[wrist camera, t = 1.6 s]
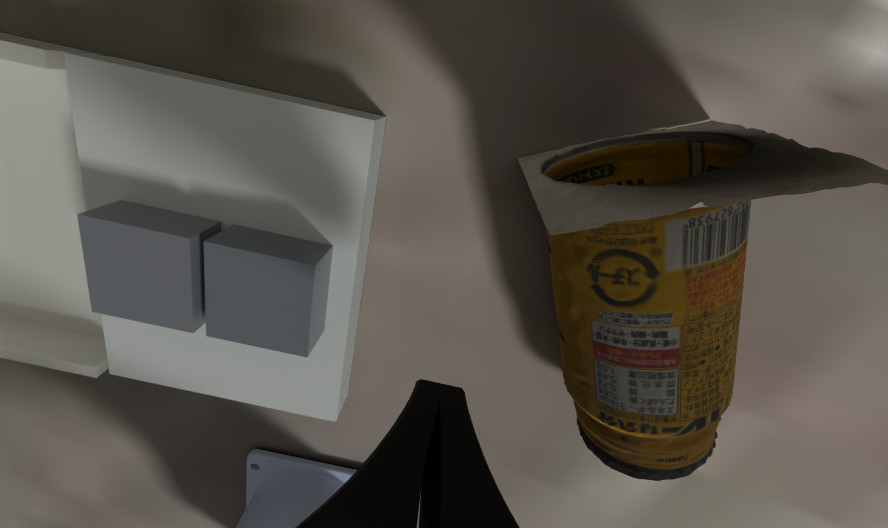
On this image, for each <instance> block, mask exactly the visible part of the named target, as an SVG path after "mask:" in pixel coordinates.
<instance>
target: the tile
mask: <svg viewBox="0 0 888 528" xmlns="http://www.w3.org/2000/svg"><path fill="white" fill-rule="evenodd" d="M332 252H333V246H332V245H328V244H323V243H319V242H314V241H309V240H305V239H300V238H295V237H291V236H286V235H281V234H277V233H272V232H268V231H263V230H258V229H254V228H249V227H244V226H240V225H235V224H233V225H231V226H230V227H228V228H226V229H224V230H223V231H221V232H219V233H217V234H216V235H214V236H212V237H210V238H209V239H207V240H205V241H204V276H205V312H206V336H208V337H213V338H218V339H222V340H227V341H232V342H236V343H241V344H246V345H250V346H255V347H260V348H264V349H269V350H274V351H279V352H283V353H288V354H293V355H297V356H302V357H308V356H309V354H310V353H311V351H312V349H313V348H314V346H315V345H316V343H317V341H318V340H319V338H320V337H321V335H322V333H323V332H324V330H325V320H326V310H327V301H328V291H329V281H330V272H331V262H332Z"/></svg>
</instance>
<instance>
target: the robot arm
mask: <svg viewBox="0 0 888 528" xmlns="http://www.w3.org/2000/svg"><path fill="white" fill-rule="evenodd" d="M421 485H422V486H421ZM420 494H421V501H420ZM419 502H420V516H419V528H519V526H518V524H517V522H516V521H515V519H514V517H513V515H512V514H511V512H510V510H509V508H508V506H507V504H506V503H505V501H504V499H503V497H502V495H501V493H500V491H499V489H498V487H497V485H496V483H495V481H494V478H493V476H492V474H491V472H490V469H489V467H488V465H487V462H486V460H485V457H484V455H483V452H482V450H481V447H480V444H479V442H478V439H477V436H476V433H475V430H474V427H473V424H472V421H471V418H470V414H469V410H468V407H467V402H466V398H465V392H464V391H463V389H462V388H459V387H455V386H450V385H445V384H441V383H436V382H431V381H427V380H422V379H420V380H418V381H416V384H415V387H414V390H413V392H412V395H411V397H410V399H409V400H408V402H407V404H406V406H405V408H404V409H403V411H402V413H401V414H400V416H399V417H398V419H397V420H396V422H395V423H394V425H393V426H392V428H391V429H390V431H389V432H388V433H387V435H386V436H385V437H384V438H383V440H382V441H381V442H380V444H379V445H378V446H377V448H376V449H375V450H374V451H373V453H372V454H371V455H370V456H369V457H368V459H367V460H366V461H365V462H364V463H363V464H362V465H361V467H360V468H359V469H358V470H355V469H350V468H345V467H340V466H336V465H331V464H326V463H321V462H317V461H312V460H307V459H302V458H298V457H293V456H288V455H283V454H279V453H274V452H269V451H264V450H260V449H254V450H252V451H250V453H249V454H248V456H247V477H246V509H245V511H244V513H243V515H242V517H241V518H240V520H239V522H238V524H237V526H236V528H417V520H418V511H419Z"/></svg>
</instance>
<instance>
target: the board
mask: <svg viewBox="0 0 888 528" xmlns="http://www.w3.org/2000/svg"><path fill="white" fill-rule="evenodd" d="M64 58H65V65H66V72H67V79H68V86H69V93H70V100H71V107H72V114H73V121H74V128H75V135H76V142H77V149H78V156H79V163H80V170H81V177H82V184H83V191H84V198H85V205H86V211H88V210H92V209H95V208H98V207H101V206H104V205H107V204H110V203H113V202H116V201H119V200H124V201H128V202H133V203H138V204H142V205H147V206H152V207H156V208H161V209H166V210H170V211H175V212H179V213H184V214H189V215H193V216H198V217H203V218H207V219H212V220H217V221H221V231H223V230H224V229H226V228H228V227H230V226H231V225H233V224H235V225H240V226H244V227H249V228H254V229H258V230H263V231H268V232H272V233H277V234H281V235H286V236H291V237H295V238H300V239H305V240H309V241H314V242H319V243H323V244H328V245H332V246H333V252H332V262H331V272H330V281H329V291H328V301H327V310H326V320H325V330H324V332H323V333H322V335H321V337H320V338H319V340H318V341H317V343H316V345H315V346H314V348H313V349H312V351H311V353H310V354H309V356H308V357H302V356H297V355H293V354H288V353H283V352H279V351H274V350H269V349H264V348H260V347H255V346H250V345H246V344H241V343H236V342H232V341H227V340H222V339H218V338H213V337H208V336H206V323H205V324H204V325H203V326H201V327H200V328H199V329H198V330H197V331H196V332H195V333H189V332H185V331H180V330H175V329H171V328H166V327H161V326H156V325H152V324H147V323H142V322H138V321H133V320H128V319H124V318H119V317H114V316H109V315H105V314H101V317H102V325H103V332H104V339H105V346H106V353H107V360H108V367H109V374H112V375H116V376H121V377H126V378H131V379H135V380H140V381H145V382H150V383H154V384H159V385H164V386H168V387H173V388H178V389H183V390H187V391H192V392H197V393H202V394H206V395H211V396H216V397H220V398H225V399H230V400H235V401H239V402H244V403H249V404H254V405H258V406H263V407H268V408H272V409H277V410H282V411H287V412H291V413H296V414H301V415H306V416H310V417H315V418H320V419H324V420H329V421H334V422H336V420H337V418H338V416H339V413H340V411H341V409H342V406H343V404H344V402H345V399H346V397H347V394H348V388H349V381H350V374H351V367H352V360H353V352H354V345H355V338H356V331H357V324H358V316H359V309H360V302H361V295H362V288H363V280H364V273H365V266H366V259H367V252H368V245H369V237H370V230H371V223H372V216H373V209H374V201H375V194H376V187H377V180H378V173H379V165H380V158H381V151H382V144H383V137H384V130H385V122H386V116H381V115H377V114H372V113H367V112H363V111H358V110H354V109H349V108H345V107H340V106H336V105H331V104H326V103H322V102H317V101H313V100H308V99H304V98H299V97H294V96H290V95H285V94H281V93H276V92H272V91H267V90H262V89H258V88H253V87H249V86H244V85H240V84H235V83H230V82H226V81H221V80H217V79H212V78H208V77H203V76H199V75H194V74H189V73H185V72H180V71H176V70H171V69H167V68H162V67H157V66H153V65H148V64H144V63H139V62H135V61H130V60H125V59H121V58H116V57H112V56H102V55H89V54H77V53H64Z"/></svg>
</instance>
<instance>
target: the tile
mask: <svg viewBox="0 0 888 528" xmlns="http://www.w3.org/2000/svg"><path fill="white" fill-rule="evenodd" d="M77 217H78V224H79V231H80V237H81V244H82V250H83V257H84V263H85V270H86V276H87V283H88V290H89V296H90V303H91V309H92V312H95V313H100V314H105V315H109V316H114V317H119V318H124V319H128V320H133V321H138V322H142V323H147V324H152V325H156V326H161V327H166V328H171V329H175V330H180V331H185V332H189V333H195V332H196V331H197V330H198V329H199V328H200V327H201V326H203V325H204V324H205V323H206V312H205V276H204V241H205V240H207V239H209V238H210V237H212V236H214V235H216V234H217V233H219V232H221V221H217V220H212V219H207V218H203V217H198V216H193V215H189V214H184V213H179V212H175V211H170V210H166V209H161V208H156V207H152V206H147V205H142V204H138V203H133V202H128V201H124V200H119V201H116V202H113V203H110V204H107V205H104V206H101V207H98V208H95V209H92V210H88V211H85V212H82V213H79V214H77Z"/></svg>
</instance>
